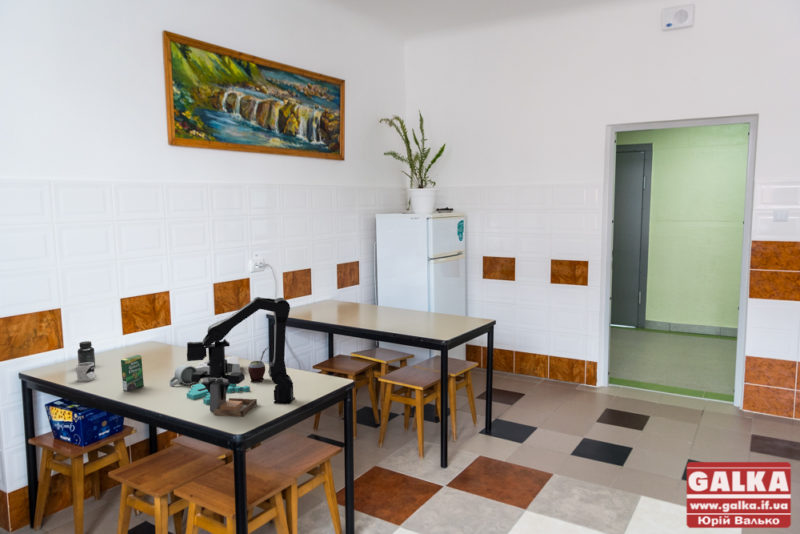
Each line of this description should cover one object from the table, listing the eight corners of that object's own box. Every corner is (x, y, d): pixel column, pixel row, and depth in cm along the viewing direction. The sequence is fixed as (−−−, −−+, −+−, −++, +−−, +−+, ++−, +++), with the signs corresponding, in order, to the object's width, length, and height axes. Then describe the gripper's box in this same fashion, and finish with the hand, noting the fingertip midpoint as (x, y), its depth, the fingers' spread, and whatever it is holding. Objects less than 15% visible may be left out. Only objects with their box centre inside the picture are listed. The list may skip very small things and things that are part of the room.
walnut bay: (256, 404, 222) (256, 399, 222) (242, 416, 210) (242, 411, 209) (229, 402, 224) (229, 397, 223) (214, 415, 211) (214, 409, 211)
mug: (89, 381, 251) (88, 366, 250) (74, 381, 251) (73, 366, 250) (101, 374, 261) (100, 360, 260) (86, 374, 260) (85, 360, 260)
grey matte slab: (226, 404, 221) (226, 379, 219) (217, 412, 214) (218, 386, 212) (218, 403, 221) (219, 378, 219) (209, 410, 214) (210, 385, 213)
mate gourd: (245, 380, 251) (244, 346, 249) (261, 376, 256) (260, 343, 254) (255, 384, 245) (253, 349, 244) (271, 380, 251) (270, 346, 249)
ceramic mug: (190, 378, 255) (189, 361, 254) (198, 382, 249) (197, 364, 248) (166, 384, 247) (164, 366, 246) (174, 388, 241) (173, 370, 240)
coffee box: (126, 391, 237) (124, 360, 236) (122, 390, 239) (120, 359, 237) (144, 386, 244) (142, 355, 243) (139, 385, 246) (137, 354, 244)
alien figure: (250, 391, 238) (220, 382, 250) (249, 386, 237) (220, 377, 250) (206, 405, 222) (177, 395, 234) (206, 400, 222) (177, 389, 234)
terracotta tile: (242, 406, 221) (242, 401, 220) (235, 412, 215) (235, 406, 214) (227, 405, 221) (227, 400, 221) (220, 411, 216) (219, 405, 215)
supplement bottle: (76, 368, 271) (74, 342, 269) (91, 364, 276) (90, 339, 274) (82, 371, 266) (80, 345, 265) (98, 367, 271) (96, 342, 270)
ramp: (184, 370, 267) (184, 358, 267) (212, 362, 281) (212, 351, 280) (227, 380, 253) (227, 367, 252) (254, 370, 266) (254, 359, 266)
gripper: (250, 353, 222) (251, 393, 224) (203, 351, 225) (205, 391, 227) (237, 361, 211) (239, 403, 213) (188, 359, 214) (191, 401, 216)
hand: (218, 399), depth 217 cm, fingers closed on grey matte slab, 3 cm apart
